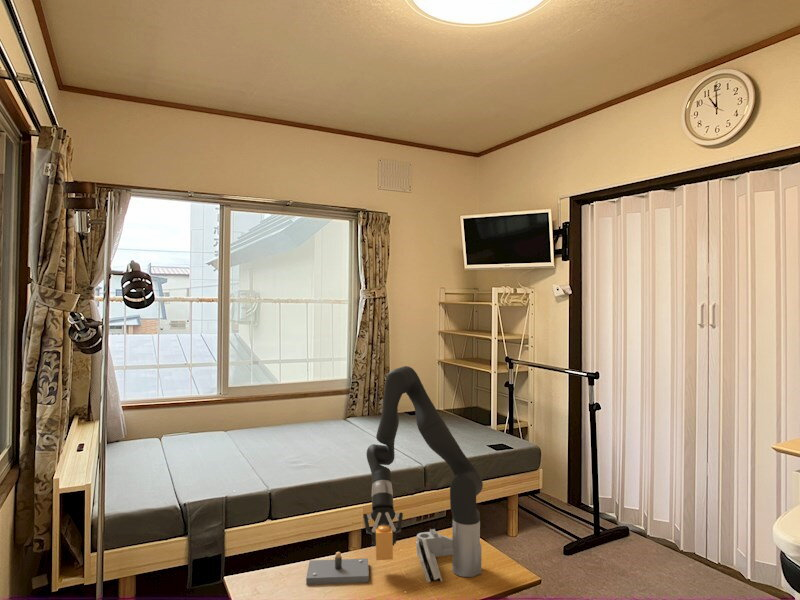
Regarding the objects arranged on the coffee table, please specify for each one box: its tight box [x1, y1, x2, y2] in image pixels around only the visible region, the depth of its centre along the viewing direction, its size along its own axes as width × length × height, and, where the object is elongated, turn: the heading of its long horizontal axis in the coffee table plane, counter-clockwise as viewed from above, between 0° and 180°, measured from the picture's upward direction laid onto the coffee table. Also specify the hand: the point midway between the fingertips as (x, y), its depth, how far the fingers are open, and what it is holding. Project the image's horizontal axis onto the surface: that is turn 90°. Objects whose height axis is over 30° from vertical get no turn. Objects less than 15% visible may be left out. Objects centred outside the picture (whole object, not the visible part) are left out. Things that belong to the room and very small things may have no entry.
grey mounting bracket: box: [416, 528, 453, 557], centre depth 194 cm, size 6×18×8 cm, turn 105°
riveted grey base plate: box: [305, 551, 370, 585], centre depth 178 cm, size 20×12×7 cm, turn 95°
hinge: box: [415, 539, 443, 583], centre depth 181 cm, size 17×5×10 cm, turn 4°
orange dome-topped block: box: [375, 525, 394, 561], centre depth 179 cm, size 6×6×10 cm
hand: (384, 544), depth 177 cm, fingers closed on orange dome-topped block, 5 cm apart
